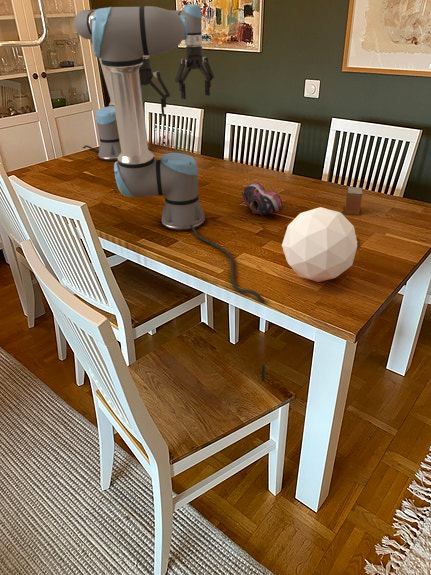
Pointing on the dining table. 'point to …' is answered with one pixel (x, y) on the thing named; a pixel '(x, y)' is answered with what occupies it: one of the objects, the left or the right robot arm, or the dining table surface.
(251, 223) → the dining table surface
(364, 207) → the dining table surface
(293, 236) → the sphere
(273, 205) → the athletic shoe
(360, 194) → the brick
